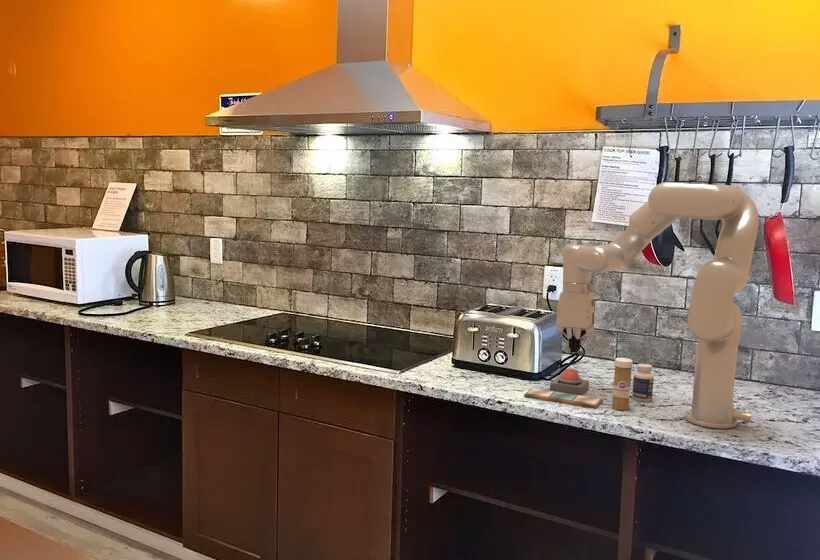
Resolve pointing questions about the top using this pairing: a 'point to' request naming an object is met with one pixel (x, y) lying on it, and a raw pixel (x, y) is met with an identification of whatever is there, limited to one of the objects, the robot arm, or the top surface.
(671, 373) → the top surface
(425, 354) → the top surface
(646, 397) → the pill bottle
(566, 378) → the dome button
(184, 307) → the top surface
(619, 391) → the sprinkles bottle
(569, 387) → the button housing
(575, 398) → the board
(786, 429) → the top surface
